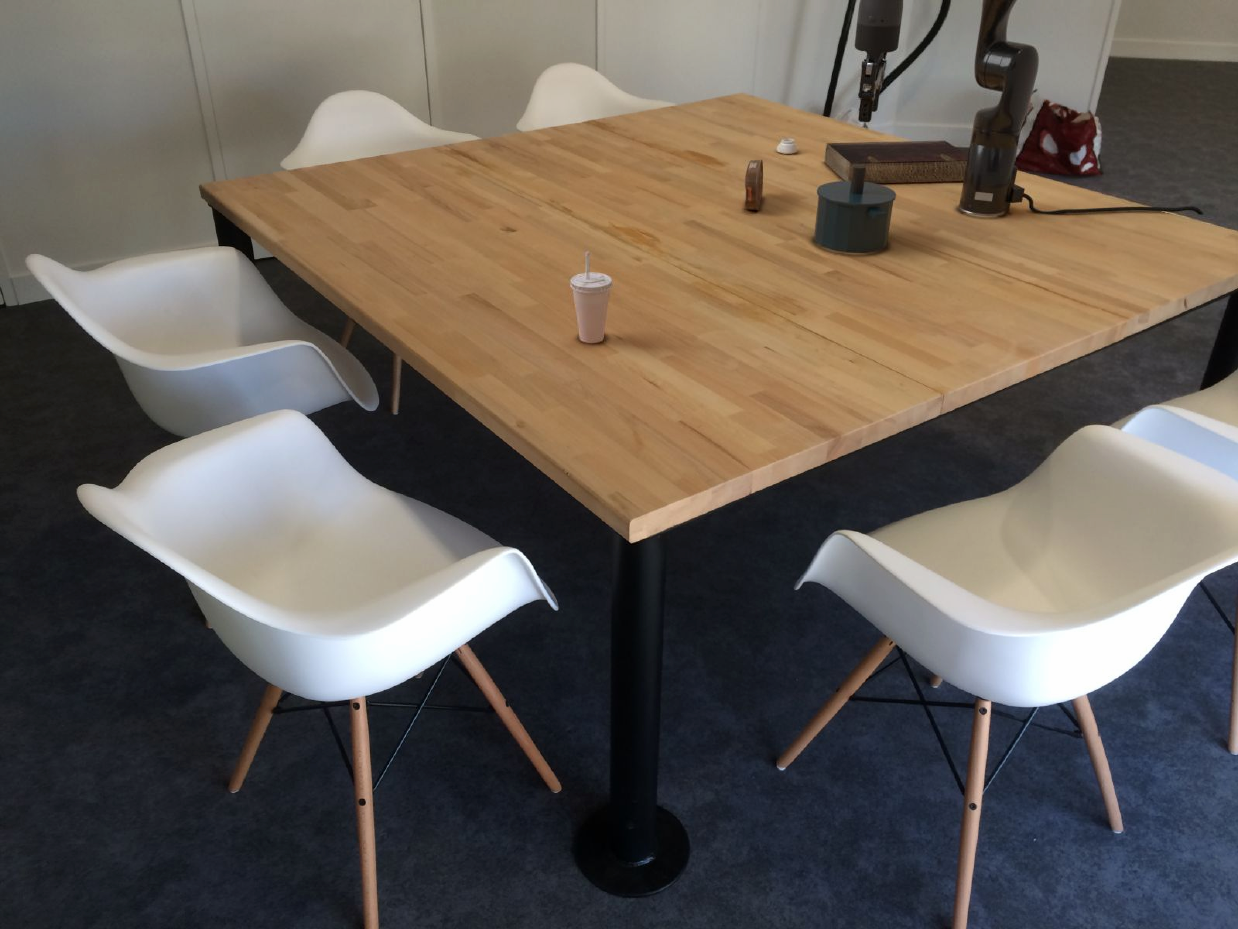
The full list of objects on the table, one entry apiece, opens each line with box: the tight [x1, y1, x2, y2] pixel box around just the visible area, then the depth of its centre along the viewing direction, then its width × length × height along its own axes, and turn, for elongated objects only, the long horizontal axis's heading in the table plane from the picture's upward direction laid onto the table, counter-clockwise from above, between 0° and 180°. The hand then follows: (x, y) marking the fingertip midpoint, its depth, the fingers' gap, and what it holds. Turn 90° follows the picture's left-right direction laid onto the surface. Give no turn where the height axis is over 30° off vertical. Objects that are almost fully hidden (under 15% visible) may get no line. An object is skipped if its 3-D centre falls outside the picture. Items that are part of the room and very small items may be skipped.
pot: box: [813, 195, 894, 254], centre depth 202 cm, size 14×19×10 cm
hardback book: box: [824, 140, 968, 184], centre depth 245 cm, size 29×19×5 cm, turn 97°
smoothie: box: [570, 251, 613, 344], centre depth 162 cm, size 6×6×14 cm
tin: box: [744, 159, 764, 211], centre depth 223 cm, size 15×3×8 cm, turn 168°
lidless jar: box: [776, 138, 798, 155], centre depth 260 cm, size 5×3×5 cm
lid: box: [816, 165, 897, 207], centre depth 198 cm, size 15×15×6 cm
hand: (867, 116), depth 193 cm, fingers open, 8 cm apart
